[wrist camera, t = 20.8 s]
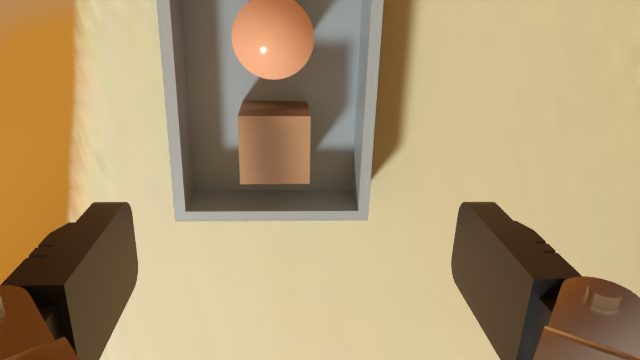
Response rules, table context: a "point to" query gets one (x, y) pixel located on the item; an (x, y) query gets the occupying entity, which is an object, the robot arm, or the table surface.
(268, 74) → the orange round part
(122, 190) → the table surface
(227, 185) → the tote
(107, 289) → the robot arm
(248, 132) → the cube
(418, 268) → the table surface
